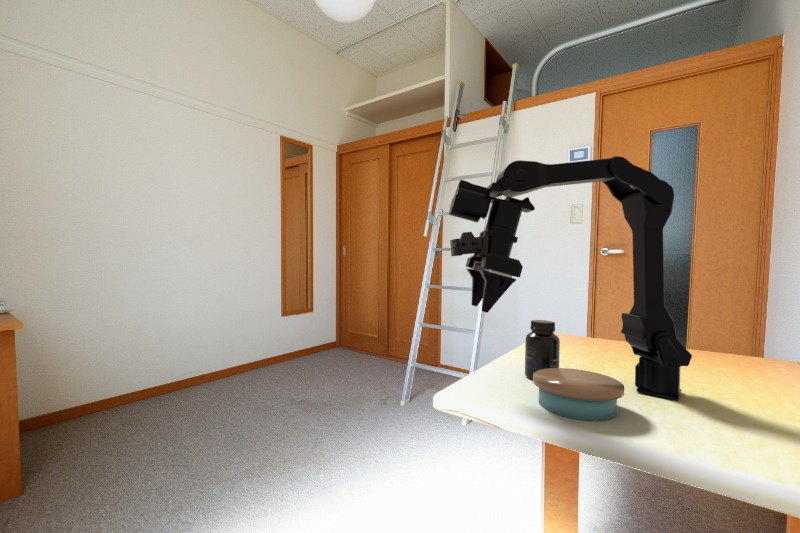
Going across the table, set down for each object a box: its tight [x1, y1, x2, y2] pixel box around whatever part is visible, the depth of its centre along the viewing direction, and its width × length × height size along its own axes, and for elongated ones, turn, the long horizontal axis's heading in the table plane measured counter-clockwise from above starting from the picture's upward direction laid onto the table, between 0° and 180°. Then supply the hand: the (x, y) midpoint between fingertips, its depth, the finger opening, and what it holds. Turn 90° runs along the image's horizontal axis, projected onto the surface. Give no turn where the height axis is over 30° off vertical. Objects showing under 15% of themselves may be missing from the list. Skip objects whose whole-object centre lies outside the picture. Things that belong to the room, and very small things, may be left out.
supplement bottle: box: [524, 319, 561, 381], centre depth 79 cm, size 7×7×12 cm
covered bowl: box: [532, 367, 625, 422], centre depth 64 cm, size 14×14×4 cm
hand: (479, 308), depth 71 cm, fingers open, 9 cm apart
